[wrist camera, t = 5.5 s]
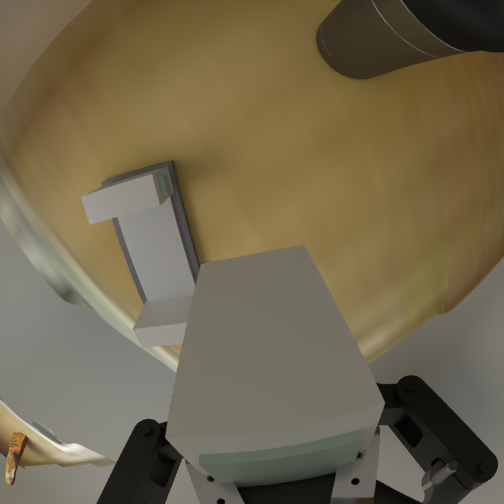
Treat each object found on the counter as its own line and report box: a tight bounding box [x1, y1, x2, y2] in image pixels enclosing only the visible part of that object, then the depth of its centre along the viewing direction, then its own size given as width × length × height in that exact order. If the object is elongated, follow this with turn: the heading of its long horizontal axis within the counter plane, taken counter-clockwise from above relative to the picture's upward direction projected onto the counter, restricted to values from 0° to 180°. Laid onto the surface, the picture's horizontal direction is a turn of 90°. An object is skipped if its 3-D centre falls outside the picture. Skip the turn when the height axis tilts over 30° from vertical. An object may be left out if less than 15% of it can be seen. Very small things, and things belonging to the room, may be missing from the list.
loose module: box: [165, 245, 385, 487], centre depth 11 cm, size 5×9×9 cm, turn 10°
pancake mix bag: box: [5, 433, 28, 485], centre depth 50 cm, size 7×19×28 cm, turn 119°
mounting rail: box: [81, 160, 200, 347], centre depth 30 cm, size 9×20×7 cm, turn 10°
